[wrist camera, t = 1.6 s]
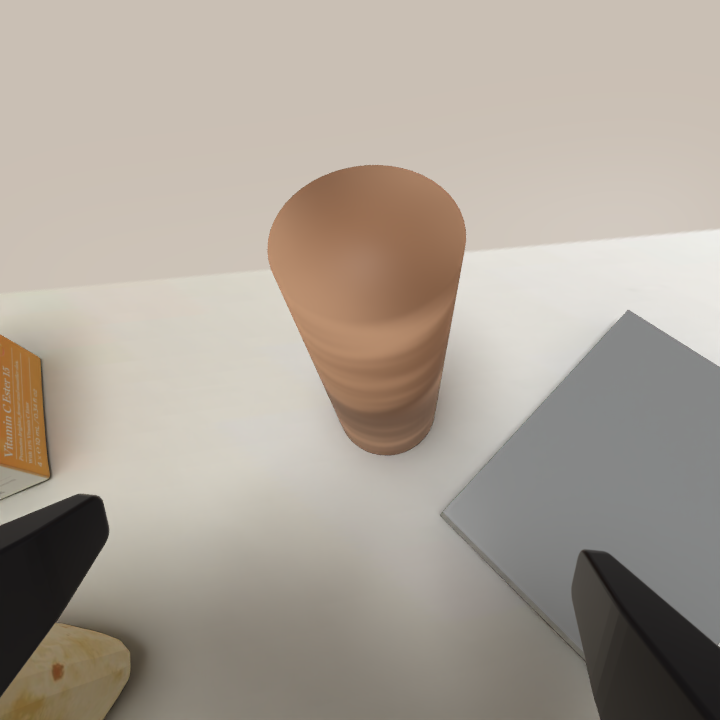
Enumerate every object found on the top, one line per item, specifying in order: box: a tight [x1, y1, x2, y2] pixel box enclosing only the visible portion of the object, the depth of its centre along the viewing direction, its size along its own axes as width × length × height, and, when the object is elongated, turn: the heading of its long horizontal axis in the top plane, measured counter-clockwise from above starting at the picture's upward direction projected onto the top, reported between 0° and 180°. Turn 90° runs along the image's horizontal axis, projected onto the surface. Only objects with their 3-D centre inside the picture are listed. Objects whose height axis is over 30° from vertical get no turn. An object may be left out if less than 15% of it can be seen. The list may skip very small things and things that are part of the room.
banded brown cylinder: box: [268, 165, 466, 455], centre depth 17 cm, size 5×5×13 cm
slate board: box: [440, 310, 720, 660], centre depth 19 cm, size 14×10×2 cm
